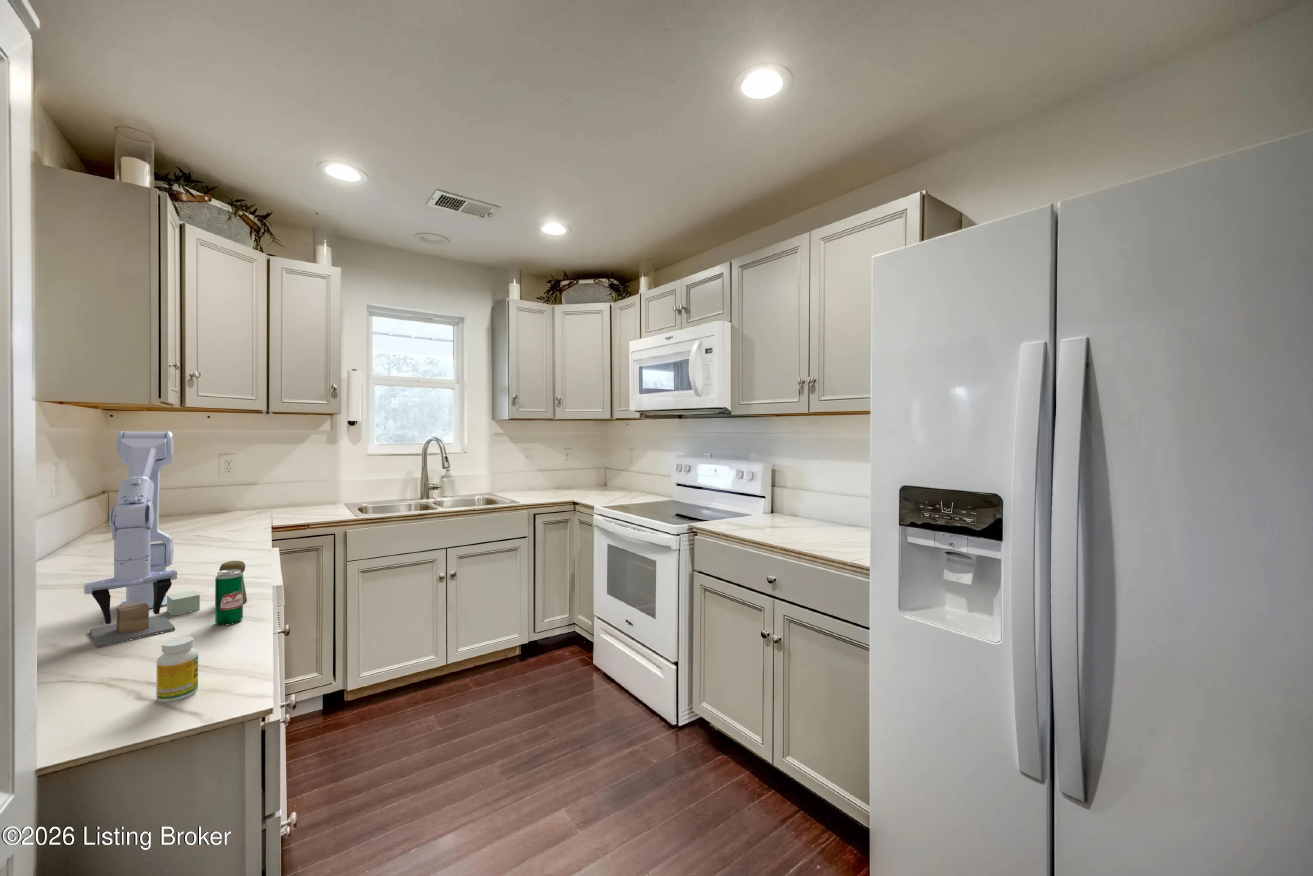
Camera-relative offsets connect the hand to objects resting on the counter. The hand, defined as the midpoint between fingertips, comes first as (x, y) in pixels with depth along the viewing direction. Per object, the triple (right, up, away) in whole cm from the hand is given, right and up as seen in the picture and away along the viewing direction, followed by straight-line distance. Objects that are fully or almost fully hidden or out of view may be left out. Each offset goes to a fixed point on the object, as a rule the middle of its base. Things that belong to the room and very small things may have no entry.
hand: (132, 617), depth 116 cm
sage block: (0, -3, +13) cm, 13 cm away
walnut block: (0, -2, 0) cm, 2 cm away
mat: (0, -3, 0) cm, 3 cm away
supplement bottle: (+33, -5, -25) cm, 42 cm away
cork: (+7, -3, +18) cm, 20 cm away
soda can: (+16, -4, +7) cm, 18 cm away
